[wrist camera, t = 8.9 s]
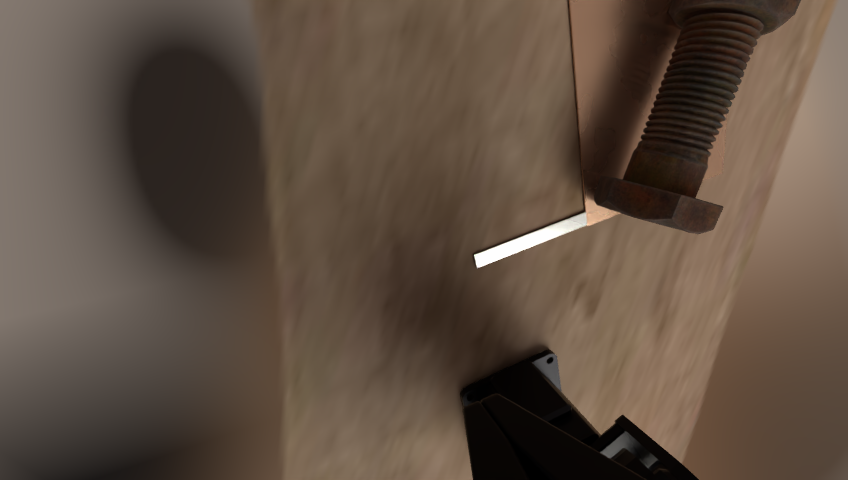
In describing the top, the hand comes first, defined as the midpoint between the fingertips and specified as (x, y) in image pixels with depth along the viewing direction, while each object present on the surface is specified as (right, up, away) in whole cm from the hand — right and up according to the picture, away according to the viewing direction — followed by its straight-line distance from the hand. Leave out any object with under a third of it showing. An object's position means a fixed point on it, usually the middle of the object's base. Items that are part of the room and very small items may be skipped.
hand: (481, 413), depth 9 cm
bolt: (+11, +13, +13) cm, 21 cm away
